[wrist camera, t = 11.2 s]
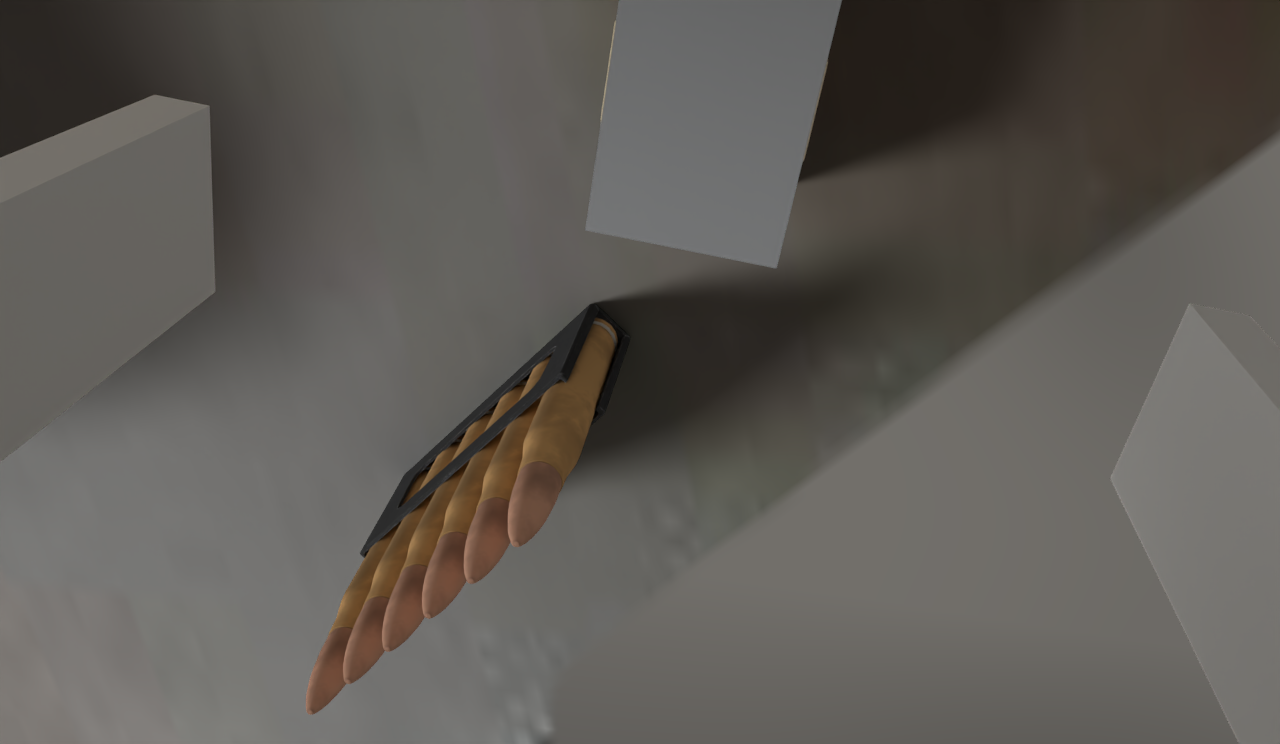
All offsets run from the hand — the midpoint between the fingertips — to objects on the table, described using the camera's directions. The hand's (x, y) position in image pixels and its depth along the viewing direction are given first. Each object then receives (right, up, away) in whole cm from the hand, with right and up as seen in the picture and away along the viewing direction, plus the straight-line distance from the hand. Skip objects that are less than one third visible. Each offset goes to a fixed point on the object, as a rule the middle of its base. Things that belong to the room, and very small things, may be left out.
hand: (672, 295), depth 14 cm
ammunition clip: (-5, -2, +24) cm, 25 cm away
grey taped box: (+2, +9, +17) cm, 19 cm away
